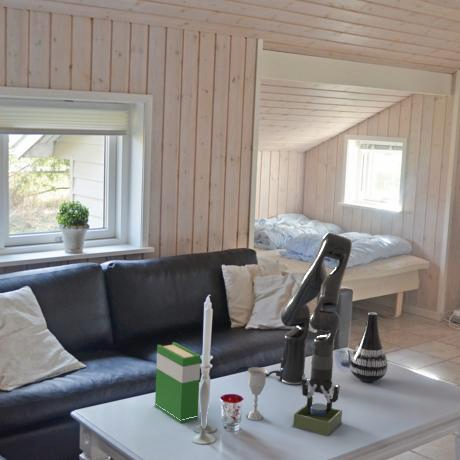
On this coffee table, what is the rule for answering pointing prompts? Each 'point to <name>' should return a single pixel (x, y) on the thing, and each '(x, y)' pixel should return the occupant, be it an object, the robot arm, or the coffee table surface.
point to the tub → (317, 420)
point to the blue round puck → (318, 409)
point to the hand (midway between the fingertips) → (319, 409)
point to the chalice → (256, 388)
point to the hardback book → (177, 381)
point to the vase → (369, 354)
